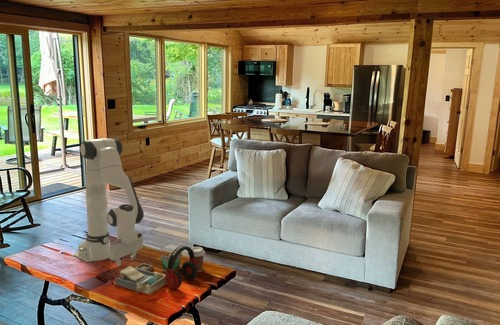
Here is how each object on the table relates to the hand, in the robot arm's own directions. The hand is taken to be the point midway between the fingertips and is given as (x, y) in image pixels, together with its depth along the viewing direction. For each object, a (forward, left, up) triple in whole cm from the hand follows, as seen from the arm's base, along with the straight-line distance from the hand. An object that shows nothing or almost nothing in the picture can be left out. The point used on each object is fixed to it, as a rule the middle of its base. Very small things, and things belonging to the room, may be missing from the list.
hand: (126, 262), depth 204 cm
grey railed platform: (+5, +1, -10) cm, 11 cm away
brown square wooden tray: (0, +14, -10) cm, 17 cm away
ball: (+16, +1, -7) cm, 18 cm away
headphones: (+27, +11, -10) cm, 31 cm away
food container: (+15, +20, -10) cm, 27 cm away
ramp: (+3, +1, -8) cm, 9 cm away
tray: (+16, +1, -10) cm, 19 cm away
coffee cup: (+25, +28, -10) cm, 38 cm away
